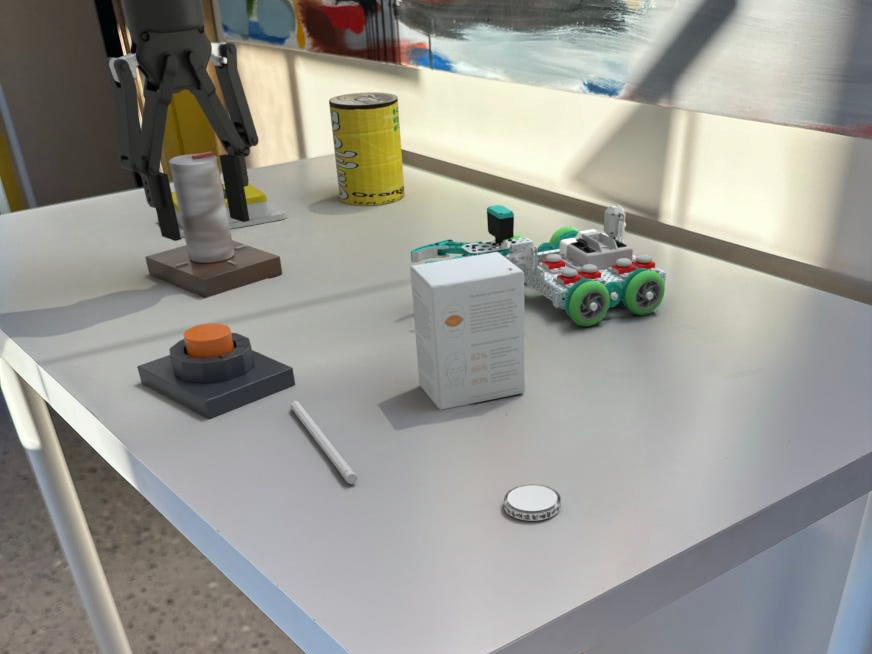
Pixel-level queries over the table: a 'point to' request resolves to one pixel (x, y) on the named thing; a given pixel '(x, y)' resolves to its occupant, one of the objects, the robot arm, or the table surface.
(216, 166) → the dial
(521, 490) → the white flat disc
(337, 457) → the white rod
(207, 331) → the push knob
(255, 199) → the yellow box on plate
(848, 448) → the table surface
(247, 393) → the button housing
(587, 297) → the robot kit
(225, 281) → the dial panel
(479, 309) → the small box
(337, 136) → the beverage can
